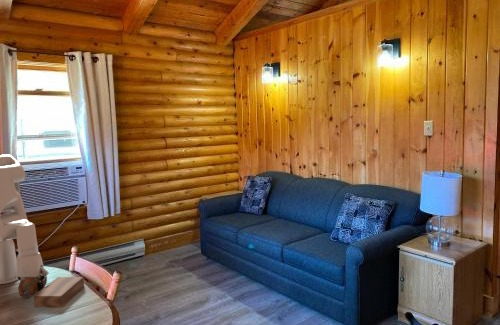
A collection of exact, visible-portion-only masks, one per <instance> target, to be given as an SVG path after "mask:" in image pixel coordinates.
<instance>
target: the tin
mask: <svg viewBox="0 0 500 325" xmlns="http://www.w3.org/2000/svg"><path fill="white" fill-rule="evenodd" d="M42 276H43V273H42ZM39 278H40V277H39ZM37 282H38V281H37V279H36V277H35V278H24V279H23V280H22V281H21V282H19V283H18V287H17V289H18V290H17V291H18V294H19V295H18V296H20V297H21V298H26V299H28V298H31V297H33V296H34V295H35V294H37V293H38V292H39V291H38V289H37ZM47 282H48V275H47V276H46V277H45V278H44V280H43V285H44V287H46V286H47ZM44 287H43V288H44Z"/></svg>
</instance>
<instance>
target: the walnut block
mask: <svg viewBox="0 0 500 325" xmlns="http://www.w3.org/2000/svg"><path fill="white" fill-rule="evenodd" d="M84 281H85V280H84V276H57V277H56V278H55V279H54V280H52V281H51V282H50V283H48V284H46V285H45V287H44V288H43V289H42V290H40V291H39V292H37V293H36V294H34V295H33V296H32V297H33V304H34V308H52V309H53V308H55V309H56V308H58V309H59V308H64V307H65V306H66V305H67V304H68V303H69V302H70V301H72V300H73V299H74V297H76V296H77V295H78V294H79V293H80V292H81V291H83V289H85V282H84Z"/></svg>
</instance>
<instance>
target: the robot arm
mask: <svg viewBox="0 0 500 325" xmlns="http://www.w3.org/2000/svg"><path fill="white" fill-rule="evenodd" d="M25 179H26V171H25V169H24V167H23V165H21V163H20V162H19V161H18V160H17V159H16V158H15V157H14V156H12V154H1V155H0V285H6V284H9V283H12V282H13V283H14V282H17V281H20V282H21V281H22V280H23V279H24V278H35V277H36V279H37V281H38V282H37V289H38V291H40V290H42V289H43V287H44V285H43V280H44V278H45V277H46V276H47V277H48V275H49V273H50V272H48V271H47V270H46V268H44V262H43V259H42V256H41V253H40V252H39V246H38V239H37V232H36V230H37V229H36V225H35V223H33V222H31V221H30V220H29V219H28V217H27V212H26V209H25V205H24V201H23V198H22V196H21V194H20V193H19V191H18V190H17V188H16V185H15V183H21V182H23V181H25ZM8 211H11V212H10V213H9V212H8ZM4 212H8V213H4ZM1 213H4V214H1ZM15 239H16V243H17V248H15V247H16V246H15V242H14V240H15ZM16 252H17V253H18V254H16ZM42 273H43V276H42ZM39 277H40V278H39ZM20 282H19V283H20Z"/></svg>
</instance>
